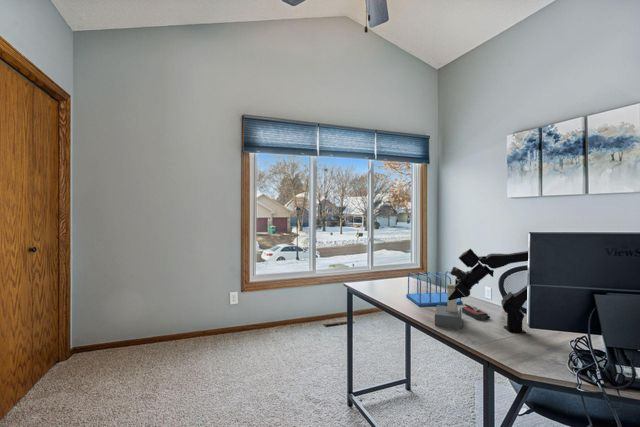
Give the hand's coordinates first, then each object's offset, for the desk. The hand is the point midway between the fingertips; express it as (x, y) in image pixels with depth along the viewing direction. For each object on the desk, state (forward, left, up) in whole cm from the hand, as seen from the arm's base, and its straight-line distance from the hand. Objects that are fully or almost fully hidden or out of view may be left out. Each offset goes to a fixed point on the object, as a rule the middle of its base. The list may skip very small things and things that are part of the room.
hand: (448, 296), depth 149 cm
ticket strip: (0, -1, -8) cm, 8 cm away
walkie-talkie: (+13, -15, -12) cm, 23 cm away
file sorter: (+32, -1, -12) cm, 35 cm away
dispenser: (0, 0, -12) cm, 12 cm away
